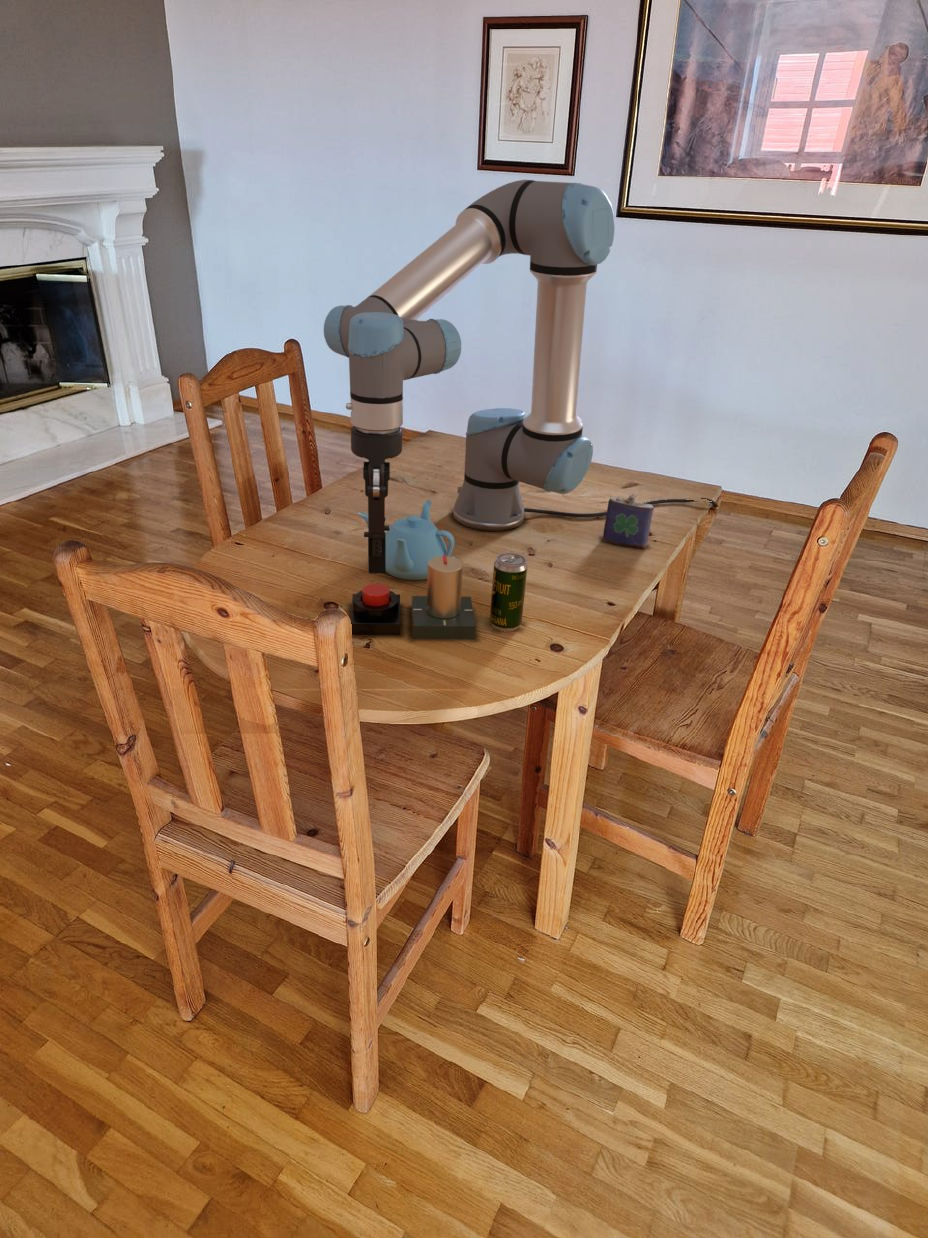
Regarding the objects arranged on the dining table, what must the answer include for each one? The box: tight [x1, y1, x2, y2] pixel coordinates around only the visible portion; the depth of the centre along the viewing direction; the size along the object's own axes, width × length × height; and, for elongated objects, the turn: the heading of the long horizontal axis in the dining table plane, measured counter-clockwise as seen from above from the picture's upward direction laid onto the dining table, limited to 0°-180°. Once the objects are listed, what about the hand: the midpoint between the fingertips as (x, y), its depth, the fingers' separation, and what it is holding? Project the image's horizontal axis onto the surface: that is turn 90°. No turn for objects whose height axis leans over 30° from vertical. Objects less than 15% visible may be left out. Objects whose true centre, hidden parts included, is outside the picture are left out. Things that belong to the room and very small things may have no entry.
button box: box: [349, 590, 402, 636], centre depth 133 cm, size 8×10×4 cm
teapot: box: [358, 499, 456, 581], centre depth 149 cm, size 15×15×10 cm
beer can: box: [489, 552, 528, 632], centre depth 132 cm, size 5×5×12 cm
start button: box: [361, 583, 391, 606], centre depth 132 cm, size 4×4×2 cm
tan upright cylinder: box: [426, 555, 464, 619], centre depth 131 cm, size 6×6×9 cm
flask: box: [602, 493, 655, 549], centre depth 165 cm, size 9×3×11 cm, turn 68°
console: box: [411, 595, 477, 640], centre depth 134 cm, size 10×10×3 cm
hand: (377, 571), depth 130 cm, fingers closed
